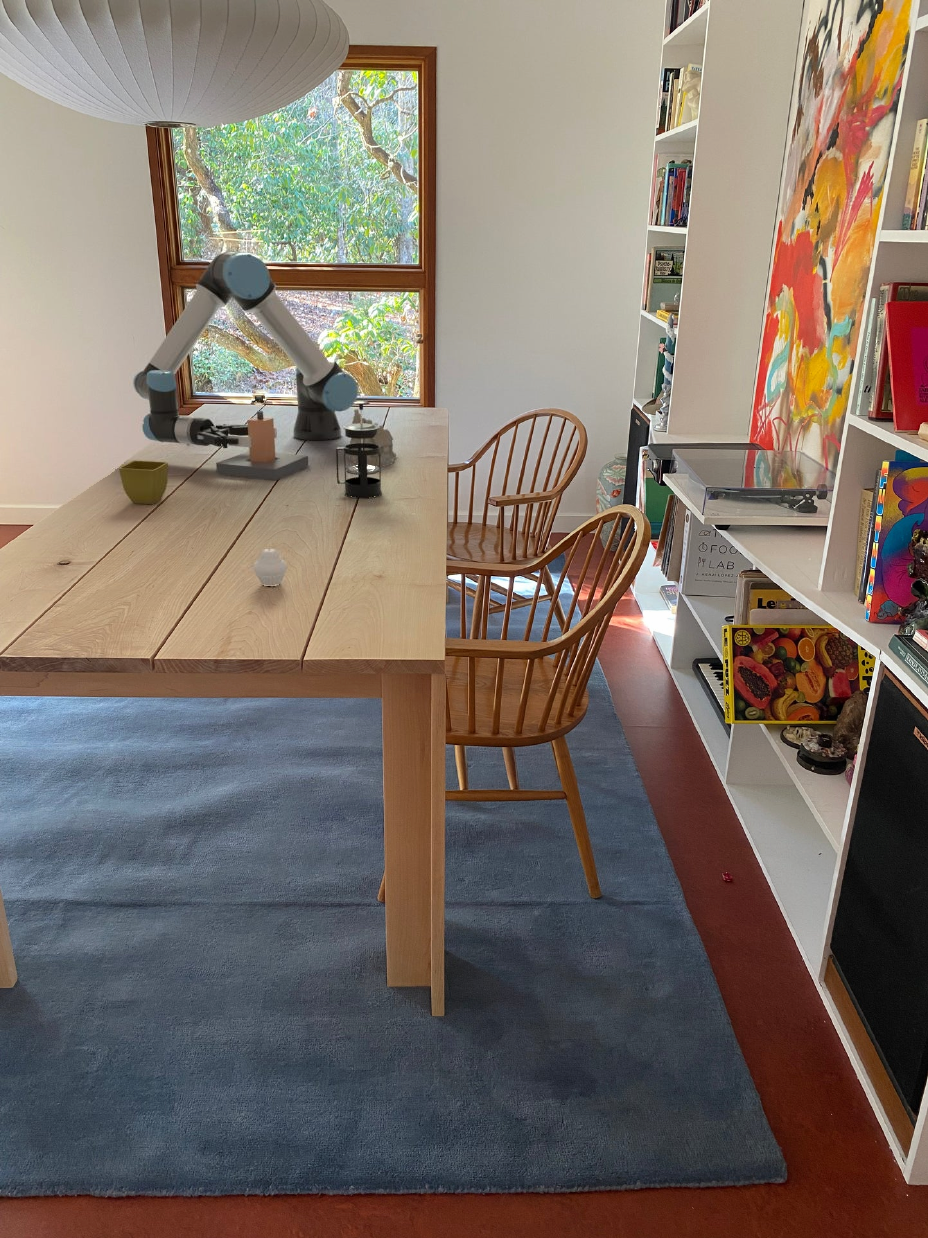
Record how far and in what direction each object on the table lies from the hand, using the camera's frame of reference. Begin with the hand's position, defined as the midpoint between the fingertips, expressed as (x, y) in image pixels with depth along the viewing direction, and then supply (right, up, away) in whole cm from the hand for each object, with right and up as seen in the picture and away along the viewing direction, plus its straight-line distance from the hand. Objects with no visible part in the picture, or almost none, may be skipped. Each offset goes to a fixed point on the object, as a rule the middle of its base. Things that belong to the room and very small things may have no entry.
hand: (263, 437), depth 255 cm
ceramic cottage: (+29, -3, +19) cm, 35 cm away
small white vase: (+18, -43, -80) cm, 93 cm away
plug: (-1, -8, +4) cm, 9 cm away
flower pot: (-22, -21, -28) cm, 41 cm away
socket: (-1, -8, +4) cm, 9 cm away
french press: (+28, -18, -18) cm, 38 cm away
